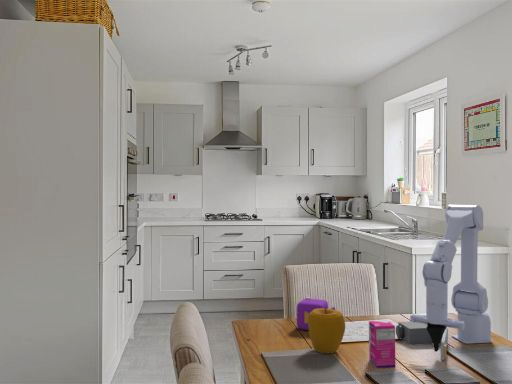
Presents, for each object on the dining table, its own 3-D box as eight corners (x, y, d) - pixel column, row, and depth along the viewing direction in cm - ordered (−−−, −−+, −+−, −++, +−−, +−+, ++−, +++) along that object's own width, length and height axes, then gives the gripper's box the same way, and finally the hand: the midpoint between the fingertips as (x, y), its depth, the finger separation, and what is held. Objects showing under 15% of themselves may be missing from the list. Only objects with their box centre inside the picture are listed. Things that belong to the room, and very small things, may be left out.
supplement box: (368, 360, 136) (368, 320, 137) (388, 360, 137) (388, 319, 137) (374, 368, 131) (375, 325, 131) (396, 367, 131) (396, 325, 131)
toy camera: (336, 334, 163) (336, 304, 163) (295, 331, 165) (295, 302, 165) (337, 325, 173) (337, 297, 173) (299, 323, 176) (299, 295, 176)
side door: (444, 341, 153) (444, 327, 153) (449, 342, 152) (449, 328, 152) (440, 359, 136) (440, 344, 136) (445, 360, 135) (445, 345, 135)
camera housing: (431, 335, 161) (431, 318, 161) (443, 343, 153) (443, 325, 153) (394, 337, 159) (394, 320, 159) (405, 344, 151) (406, 326, 151)
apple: (347, 347, 148) (347, 305, 148) (341, 358, 138) (341, 313, 138) (312, 343, 152) (312, 302, 152) (304, 354, 142) (304, 310, 142)
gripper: (407, 302, 139) (407, 349, 139) (460, 309, 131) (460, 359, 131) (414, 298, 145) (414, 343, 145) (466, 304, 137) (466, 352, 137)
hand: (436, 350), depth 139 cm, fingers closed
